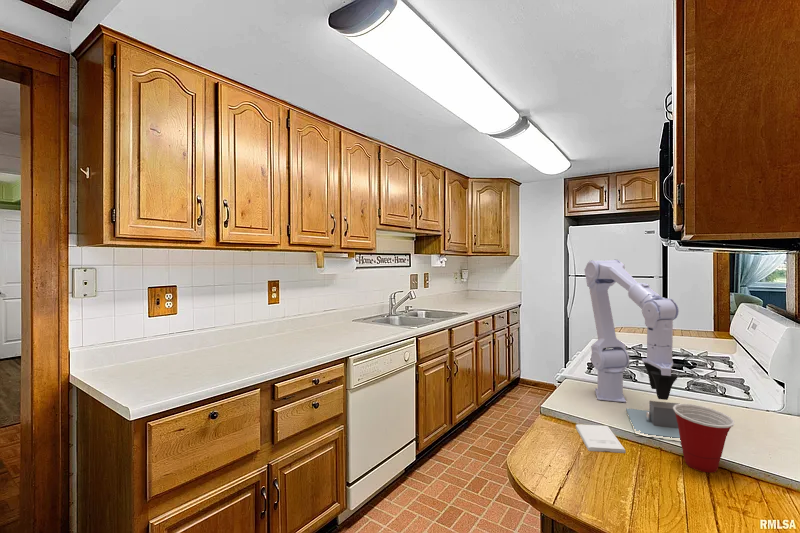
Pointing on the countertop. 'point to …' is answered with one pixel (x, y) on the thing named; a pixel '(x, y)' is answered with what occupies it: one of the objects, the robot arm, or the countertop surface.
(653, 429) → the tray
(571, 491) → the countertop surface
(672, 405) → the gray rectangular block
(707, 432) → the plastic cup
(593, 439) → the external hard drive
